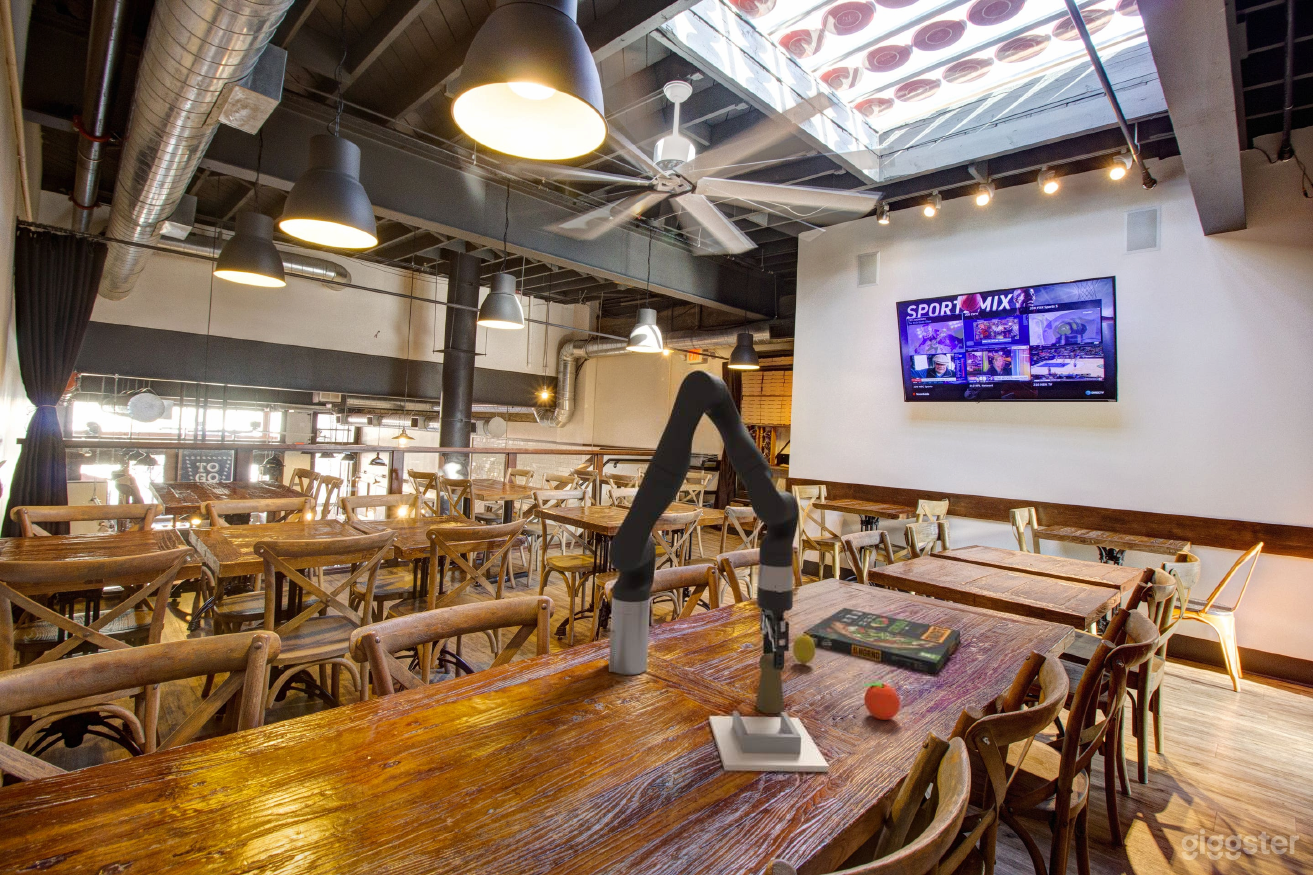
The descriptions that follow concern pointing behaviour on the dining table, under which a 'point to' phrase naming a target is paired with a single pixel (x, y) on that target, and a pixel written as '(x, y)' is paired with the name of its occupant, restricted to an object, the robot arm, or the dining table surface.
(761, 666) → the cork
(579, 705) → the dining table surface
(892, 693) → the clementine
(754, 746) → the U-rest
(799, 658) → the lemon
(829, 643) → the pizza box
